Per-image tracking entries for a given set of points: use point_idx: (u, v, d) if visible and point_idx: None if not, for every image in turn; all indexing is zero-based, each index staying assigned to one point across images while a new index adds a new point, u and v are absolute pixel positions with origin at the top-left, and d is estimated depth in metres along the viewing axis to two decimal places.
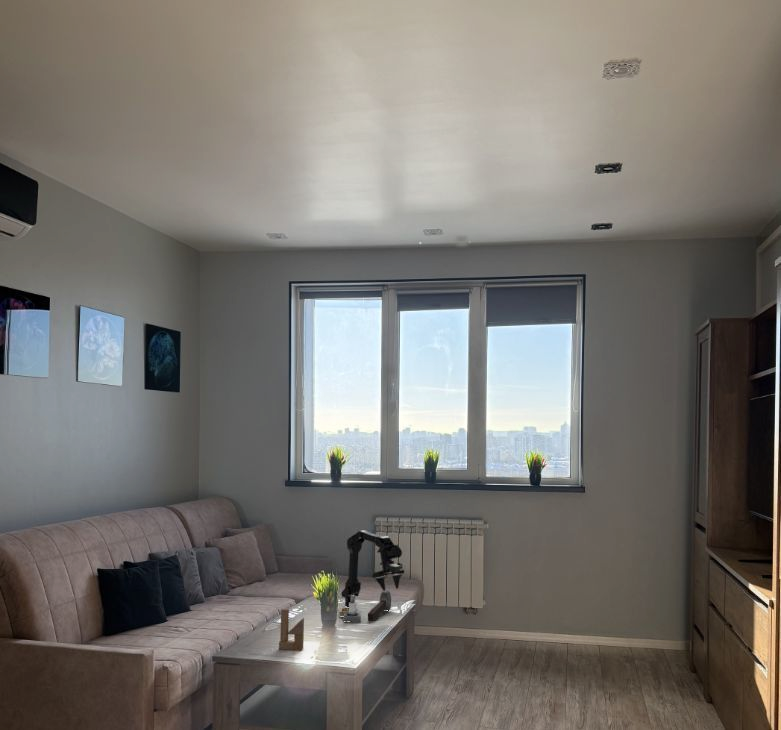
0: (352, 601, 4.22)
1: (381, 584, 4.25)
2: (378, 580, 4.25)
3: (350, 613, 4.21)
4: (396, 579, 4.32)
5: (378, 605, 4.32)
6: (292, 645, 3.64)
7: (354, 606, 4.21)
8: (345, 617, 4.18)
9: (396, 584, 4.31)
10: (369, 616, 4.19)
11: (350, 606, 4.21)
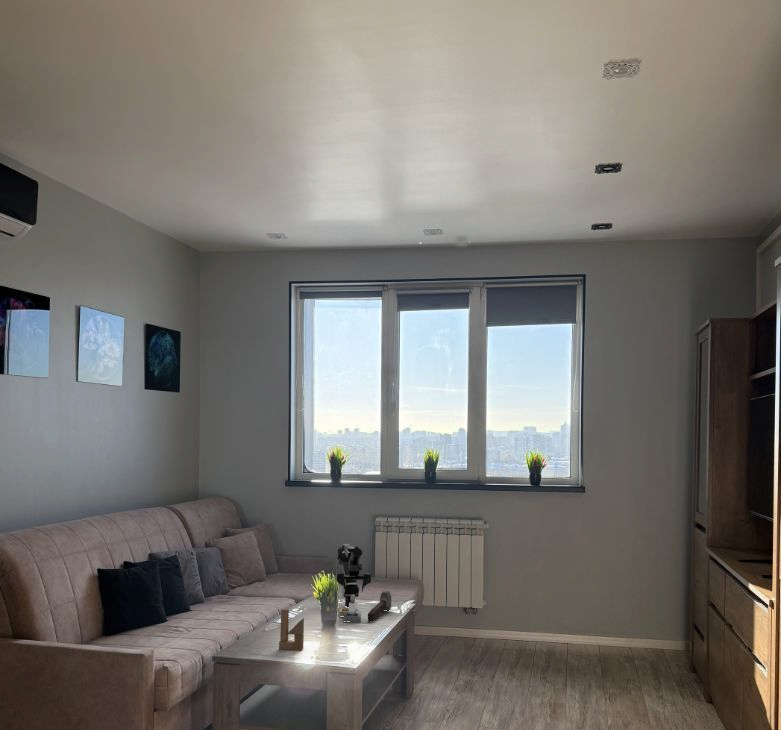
0: (352, 601, 4.22)
1: (343, 586, 4.34)
2: (342, 584, 4.36)
3: (350, 613, 4.21)
4: None
5: (378, 605, 4.32)
6: (292, 645, 3.64)
7: (354, 606, 4.21)
8: (345, 617, 4.18)
9: None
10: (369, 616, 4.19)
11: (350, 606, 4.21)
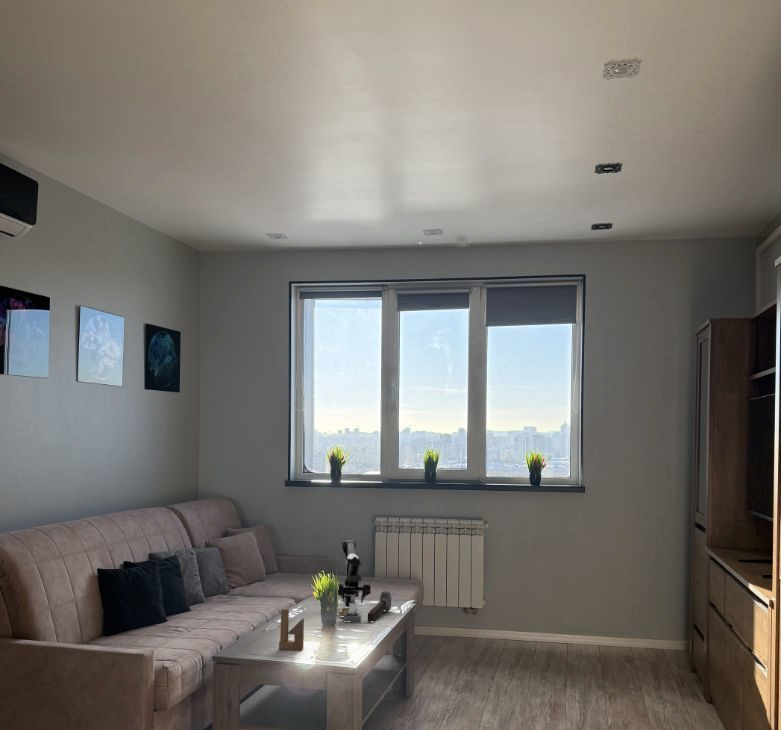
0: (352, 601, 4.22)
1: (342, 597, 4.26)
2: (341, 595, 4.29)
3: (350, 613, 4.21)
4: (362, 594, 4.27)
5: (378, 605, 4.32)
6: (292, 645, 3.64)
7: (354, 606, 4.21)
8: (345, 617, 4.18)
9: (361, 599, 4.25)
10: (369, 616, 4.19)
11: (350, 606, 4.21)
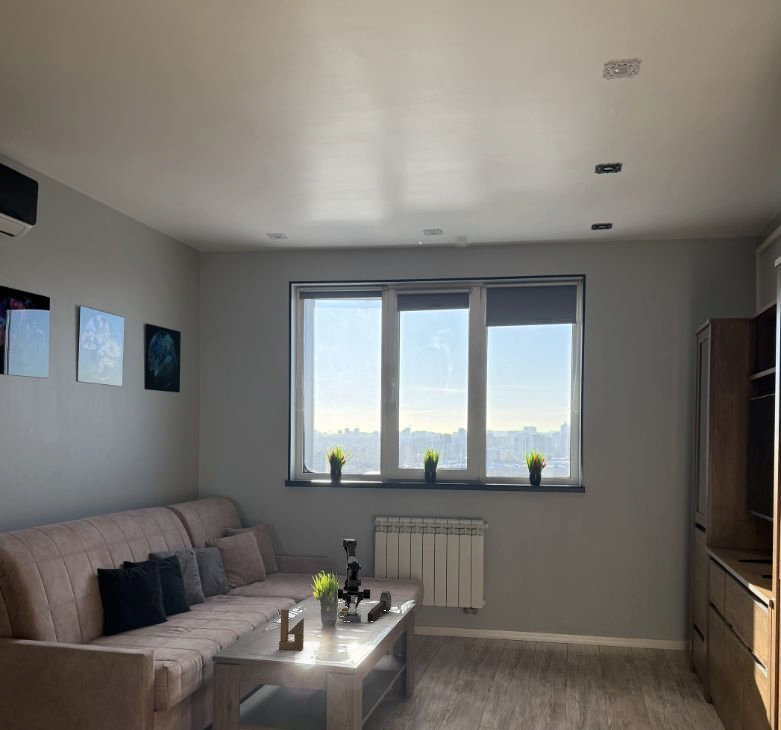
0: (352, 601, 4.22)
1: (346, 602, 4.24)
2: (345, 599, 4.26)
3: (350, 613, 4.21)
4: (357, 599, 4.25)
5: (378, 605, 4.32)
6: (292, 645, 3.64)
7: (354, 606, 4.21)
8: (345, 617, 4.18)
9: (356, 604, 4.23)
10: (369, 616, 4.19)
11: (350, 606, 4.21)
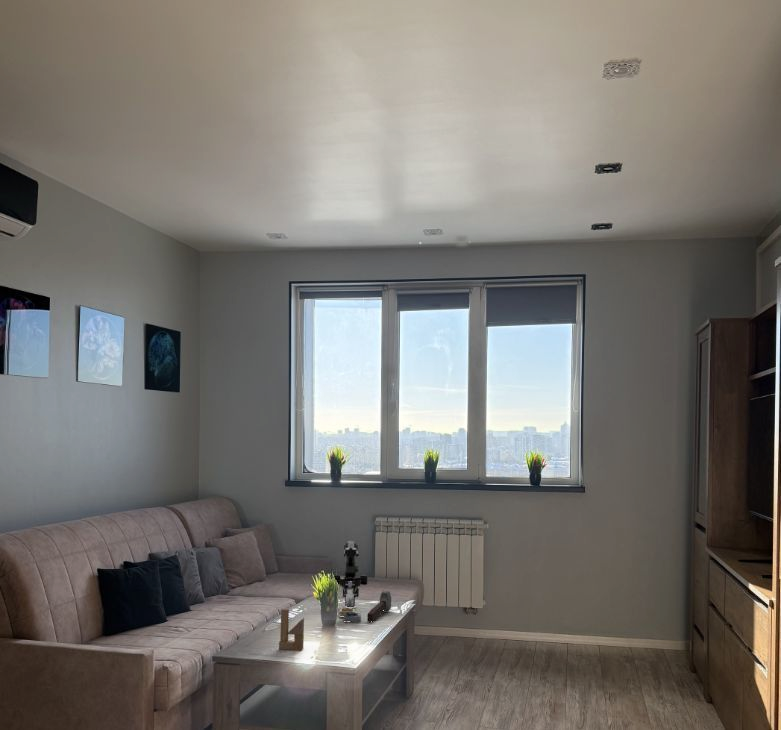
0: (349, 587, 4.28)
1: (343, 588, 4.30)
2: (342, 585, 4.33)
3: (347, 599, 4.27)
4: None
5: (378, 605, 4.32)
6: (292, 645, 3.64)
7: (351, 592, 4.28)
8: (345, 617, 4.18)
9: None
10: (369, 616, 4.19)
11: (347, 592, 4.28)
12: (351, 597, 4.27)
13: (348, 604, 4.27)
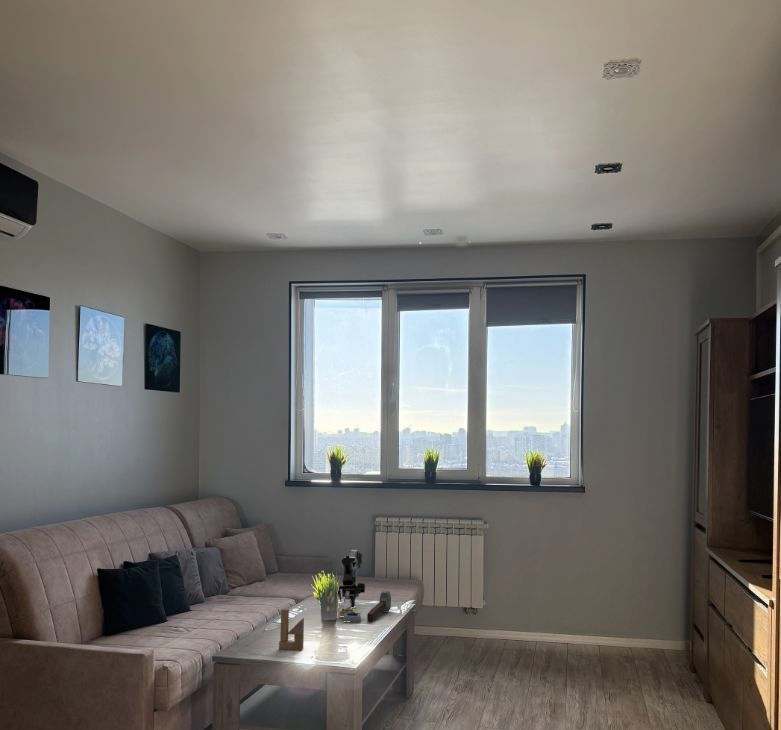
0: (347, 597, 4.32)
1: (338, 595, 4.34)
2: None
3: (345, 609, 4.31)
4: (354, 593, 4.35)
5: (378, 605, 4.32)
6: (292, 645, 3.64)
7: (349, 602, 4.31)
8: (345, 617, 4.18)
9: (353, 597, 4.33)
10: (368, 616, 4.18)
11: (345, 602, 4.31)
12: (348, 607, 4.31)
13: None
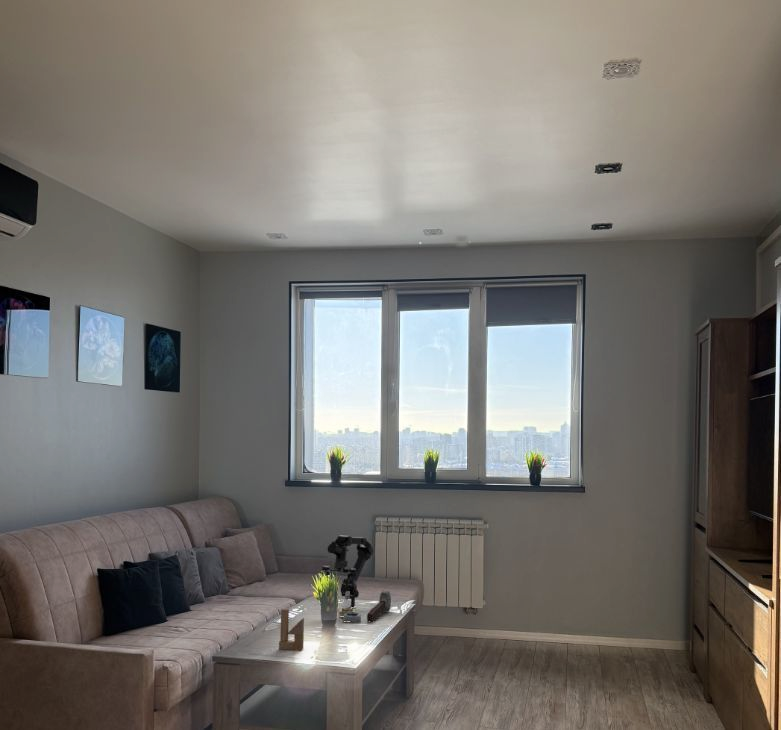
0: (347, 597, 4.32)
1: None
2: None
3: (345, 609, 4.31)
4: (347, 578, 4.39)
5: (377, 605, 4.31)
6: (292, 645, 3.64)
7: (349, 602, 4.31)
8: (345, 617, 4.18)
9: (346, 583, 4.38)
10: (368, 616, 4.18)
11: (345, 602, 4.31)
12: (348, 607, 4.31)
13: None
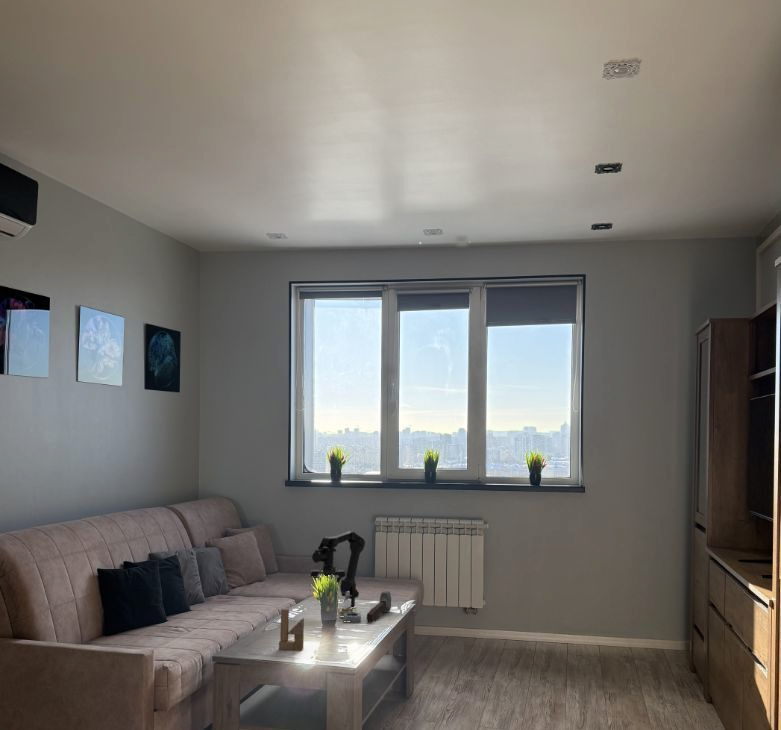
0: (347, 597, 4.32)
1: None
2: None
3: (345, 609, 4.31)
4: None
5: (378, 606, 4.31)
6: (292, 645, 3.64)
7: (349, 602, 4.31)
8: (345, 617, 4.18)
9: None
10: (368, 616, 4.18)
11: (345, 602, 4.31)
12: (348, 607, 4.31)
13: None
